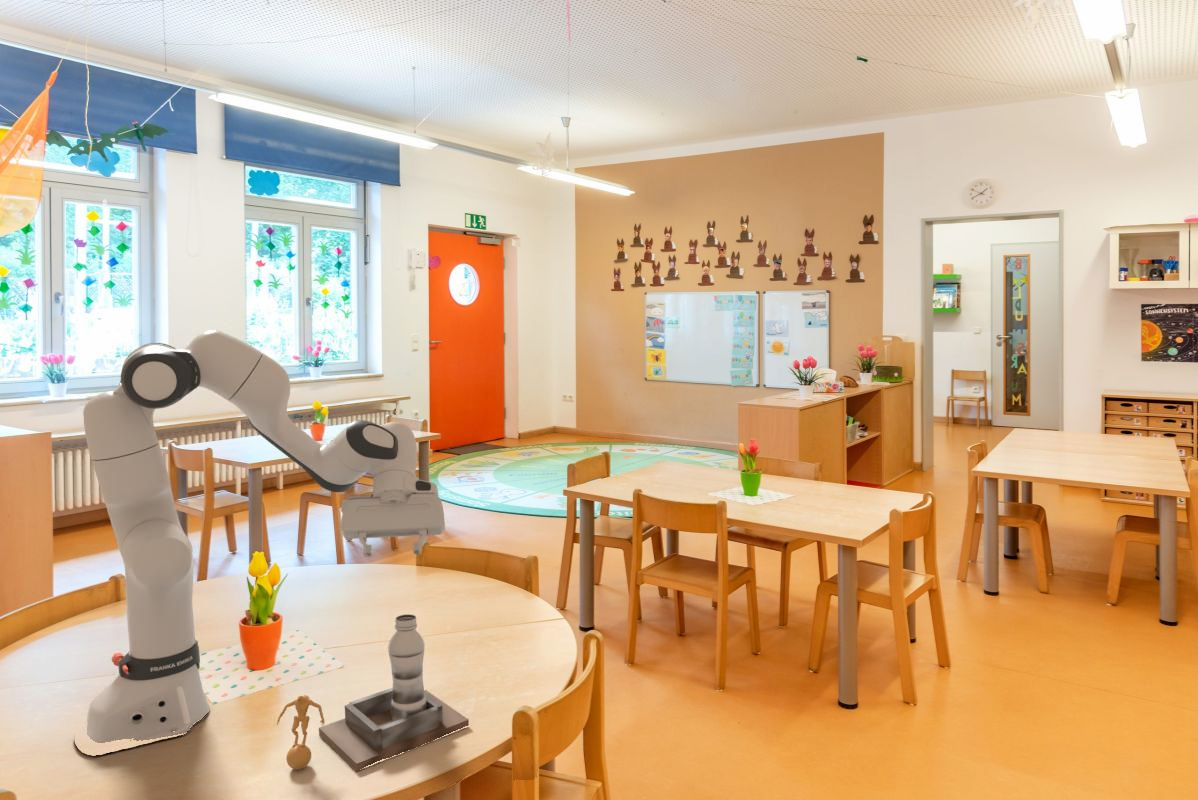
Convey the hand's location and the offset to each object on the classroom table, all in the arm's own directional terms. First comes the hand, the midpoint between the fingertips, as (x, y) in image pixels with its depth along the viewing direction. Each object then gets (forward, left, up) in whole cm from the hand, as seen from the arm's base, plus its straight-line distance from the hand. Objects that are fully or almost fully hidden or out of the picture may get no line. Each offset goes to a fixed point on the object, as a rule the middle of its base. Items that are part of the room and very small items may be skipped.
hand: (392, 554), depth 161 cm
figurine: (-23, -10, -30) cm, 39 cm away
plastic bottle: (-4, -12, -29) cm, 31 cm away
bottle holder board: (-6, -10, -30) cm, 32 cm away
